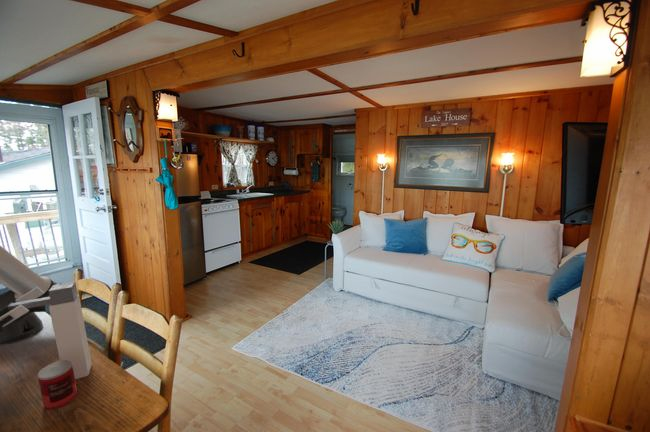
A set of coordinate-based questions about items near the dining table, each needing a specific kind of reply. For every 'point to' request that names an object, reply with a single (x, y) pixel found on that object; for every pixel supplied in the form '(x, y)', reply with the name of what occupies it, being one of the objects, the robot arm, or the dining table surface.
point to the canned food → (57, 384)
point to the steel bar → (51, 296)
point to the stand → (71, 336)
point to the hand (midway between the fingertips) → (33, 298)
